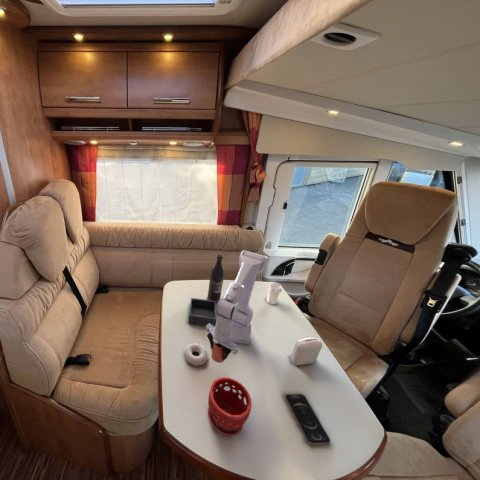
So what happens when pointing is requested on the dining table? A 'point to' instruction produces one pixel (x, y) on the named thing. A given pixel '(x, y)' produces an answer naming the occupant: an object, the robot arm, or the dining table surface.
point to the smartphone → (307, 419)
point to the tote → (202, 312)
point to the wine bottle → (216, 280)
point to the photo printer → (306, 351)
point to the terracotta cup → (217, 352)
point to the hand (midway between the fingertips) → (218, 353)
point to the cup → (273, 292)
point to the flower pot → (228, 406)
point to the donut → (195, 359)
